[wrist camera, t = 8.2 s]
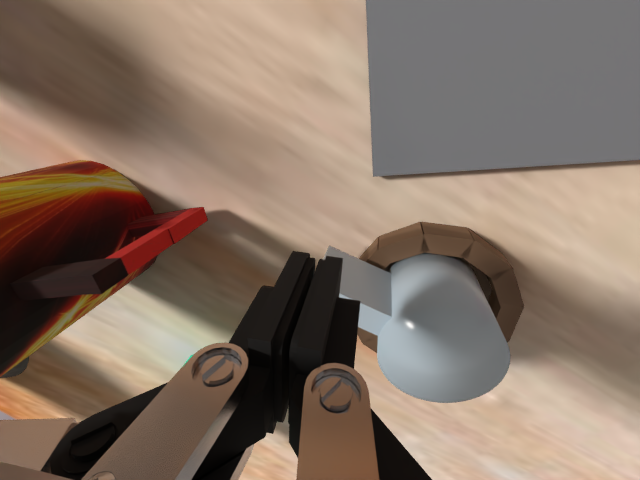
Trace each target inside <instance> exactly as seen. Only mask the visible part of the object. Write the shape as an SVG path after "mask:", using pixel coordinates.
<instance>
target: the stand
mask: <svg viewBox="0 0 640 480" xmlns="http://www.w3.org/2000/svg"><path fill="white" fill-rule="evenodd" d="M422 253H432V254H439V255H446V256H453V257H460V258H464V259H465V260H467V261H468V262H469V263H471V264H472V265H474V266H475V267H476V268H478V269H479V270H480V271H482V272H483V273H485V274H486V275H487V277H488V280H489V282H490V285H491V288H492V292H491V295H490V298H489V300H488V303H489V305H490V308H491V310H492V312H493V314H494V316H495V318H496V320H497V322H498V324H499V326H500V329H501V331H502V333H503V335H504V337H505V339H506V341H507V342H508V341H509V340H510V338H511V335H512V333H513V331H514V329H515V326H516V324H517V322H518V319H519V317H520V315H521V312H522V310H523V308H524V304H523V301H522V298H521V294H520V291H519V288H518V284H517V281H516V278H515V274H514V271H513V268H512V267H511V265H510V264H509V263H508V261H507V260H506V258H505V257H504V256H503V254H502V253H501V252H500V251H498V250H497V249H496V248H494V247H493V246H491V245H490V244H489V243H487V242H486V241H485V240H483V239H482V238H481V237H479V236H478V235H477V234H475V233H474V232H473V231H471V230H470V229H469V228H468V229H467V228H466V227H458V226H450V225H442V224H435V223H427V222H421V223H420V222H418V223H416V224H413V225H410V226H407V227H404V228H401V229H398V230H396V231H393V232H390V233H387V234H384V235H381V236H379V237H378V238H377V239H376V240H375V241H374V242H373V243H372V244H371V246H370V247H369V248H368V249H367V250H366V251H365V252H364V254H363V255H362V256H361V257H360V258H359V259H360V260H362V261H365V262H367V263H369V264H371V265H373V266H376V267H378V268H380V269H382V270H384V269H385V268H386V267H387V266H388V265H389V264H390V263H393V262H396V261H399V260H403V259H406V258H409V257H412V256H415V255H419V254H422ZM357 334H358V336H359V338H360V340H361V342H362V343H363V344H364V345H366V346H367V347H369V348H370V349H372V350H373V351H375V352H376V353H377V344H378V336H377V335H375V334H373V333H370V332H368V331H366V330H364V329H362V328H359V327H358V332H357Z"/></svg>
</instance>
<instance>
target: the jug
mask: <svg viewBox="0 0 640 480" xmlns="http://www.w3.org/2000/svg"><path fill="white" fill-rule="evenodd" d="M326 256H332V257H339V258H343V264H342V274H341V283H340V293H339V297H340V298H346V299H352V300H359V301H360V312H359V322H358V327H359V328H362V329H364V330H366V331H368V332H370V333H373V334H375V335H377V336H378V344H377V358H378V363H379V366H380V368H381V370H382V372H383V374H384V375H385V377H386V378H387V379H388V380H389V381H390V382H391V383H392V384H393V385H394V386H395V387H397V388H398V389H400V390H401V391H403V392H405V393H406V394H408V395H411V396H413V397H416V398H419V399H422V400H426V401H431V402H439V403H453V402H461V401H466V400H470V399H474V398H476V397H479V396H481V395H483V394H485V393H487V392H489V391H490V390H492V389H493V388H494V387H496V386H497V385H498V384H499V383H500V382H501V381H502V379H503V378H504V376H505V375H506V373H507V371H508V368H509V364H510V350H509V347H508V344H507V341H506V339H505V337H504V335H503V333H502V331H501V329H500V326H499V324H498V322H497V320H496V318H495V316H494V314H493V312H492V310H491V308H490V305H489V303H488V301H487V299H486V297H485V295H484V293H483V291H482V289H481V286H480V284H479V282H478V280H477V278H476V276H475V274H474V272H473V270H472V268H471V265H470V264H469V262H468V261H467V260H465V259H464V258H460V257H453V256H446V255H439V254H432V253H422V254H419V255H415V256H412V257H409V258H406V259H403V260H399V261H396V262H393V263H390V264H389V265H388V266H387V267H386V268H385V269H384V270H382V269H380V268H378V267H376V266H373V265H371V264H369V263H367V262H365V261H362V260H360V259H358V258H356V257H354V256H351V255H349V254H347V253H345V252H342V251H340V250H338V249H336V248H334V247H331V246H329V247H328V250H327V252H326V254H325V256H324V258H323V260H325V259H326Z"/></svg>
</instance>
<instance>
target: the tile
mask: <svg viewBox="0 0 640 480" xmlns="http://www.w3.org/2000/svg"><path fill="white" fill-rule="evenodd" d="M366 14H367V38H368V63H369V88H370V112H371V137H372V161H373V177H374V176H390V175H406V174H422V173H438V172H454V171H470V170H486V169H502V168H518V167H533V166H549V165H565V164H581V163H597V162H613V161H629V160H640V0H366Z"/></svg>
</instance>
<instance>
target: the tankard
mask: <svg viewBox="0 0 640 480" xmlns="http://www.w3.org/2000/svg"><path fill="white" fill-rule="evenodd" d="M28 361H29V356H28V357H27V358H25V359H24V360H23V361H21V362H20V363H18V364H17V365H16V366H14V367H13V368H12V369H10V370H9V371H8V372H6V373H5V374H4V375H2V376H1V377H0V378H7V377H13V376H17V375H19V374H21V373H22V372H23V371H24V370H25V369H26V367H27V364H28Z"/></svg>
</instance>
